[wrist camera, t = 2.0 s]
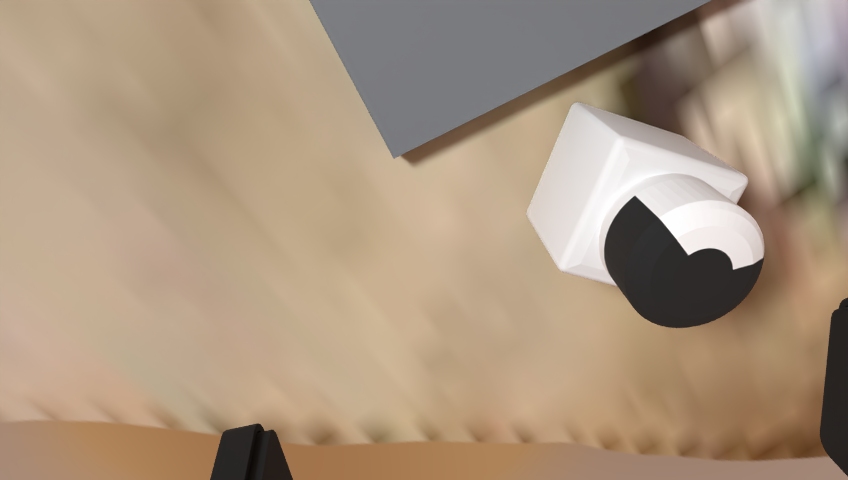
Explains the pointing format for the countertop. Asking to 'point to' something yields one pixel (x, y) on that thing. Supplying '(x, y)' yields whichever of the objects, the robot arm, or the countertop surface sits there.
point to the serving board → (471, 52)
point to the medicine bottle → (647, 218)
